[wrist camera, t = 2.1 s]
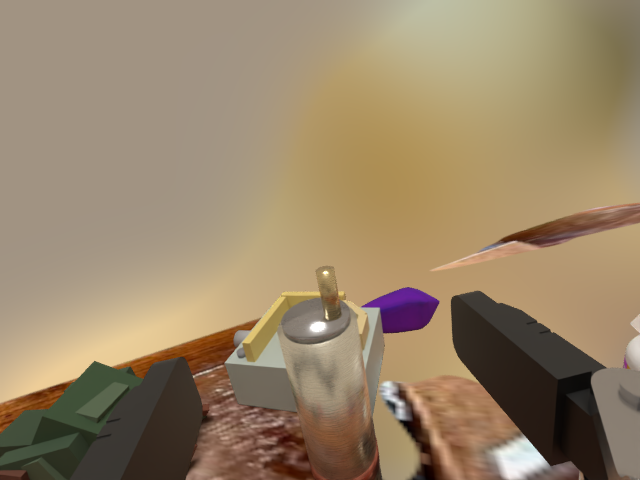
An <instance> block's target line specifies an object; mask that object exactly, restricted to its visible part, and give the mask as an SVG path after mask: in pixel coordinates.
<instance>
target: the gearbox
mask: <svg viewBox="0 0 640 480" xmlns="http://www.w3.org/2000/svg"><path fill="white" fill-rule="evenodd" d="M338 294H339V300H342V301H343V302H345V303H346V304H347V305H348V306H349V307H350V308H352V309H353V310H354V312H355V313H356V316H357V322H358V329H359V335H360V341H361V348H362V354H363V360H364V367H365V373H366V380H367V386H368V392H369V399H370V405H371V411H372V416H373V411H374V405H375V399H376V393H377V388H378V382H379V376H380V370H381V364H382V358H383V353H384V346H385V345H384V337H383V329H382V322H381V314H380V308H362V307H358V306H356V305H355V304H353V303H352V302H350V301H349V302H348V301H347V300H346V296H345V292H338ZM320 297H321V296H320V292H283V293H282V294H281V297H279V298H278V299H277V301H276V302H275V303H274V304H273V305H272V306H271V307H270V308H269V310H268V311H267V312H266V313H265V314H264V316H263V317H262V318H261V319H260V321H259V322H258V323H257V324H256V325H255V327H254V328H253V329H252V330H251V331H242V330H239V331H237V332H236V334H235V336H234V345H235V347H236V348H237V349H236V350H235V351H234V352H233V353H232V355H231V356H230V357H229V358H228V360H227V361H226V362H225V365H226V368H227V372H228V375H229V378H230V381H231V384H232V387H233V390H234V393H235V396H236V399H237V402H238V404H242V405H249V406H256V407H263V408H271V409H278V410H285V411H292V412H297V409H296V405H295V401H294V397H293V393H292V389H291V385H290V381H289V377H288V373H287V369H286V365H285V361H284V357H283V353H282V349H281V345H280V342H279V338H278V334H277V329H278V326H279V324H280V322H281V320H282V317H283V315H284V314H285V313H286V311H288V310H289V309H290V308H291V307H293V306H294V305H296V304H298V303H300V302H303V301H305V300H309V299H313V298H320Z"/></svg>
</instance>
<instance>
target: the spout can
mask: <svg viewBox="0 0 640 480" xmlns="http://www.w3.org/2000/svg"><path fill="white" fill-rule="evenodd" d="M316 276H317V280H318V286H319V291H320V296H321V297H320V298H313V299H309V300H305V301H303V302H300V303H298V304H296V305H294V306H293V307H291V308H290V309H289V310H288V311H286V313H285V314H284V315H283V317H282V320H281V322H280V324H279V326H278V329H277V334H278V338H279V342H280V345H281V349H282V353H283V357H284V361H285V365H286V369H287V373H288V377H289V381H290V385H291V389H292V393H293V397H294V401H295V405H296V409H297V413H298V417H299V421H300V424H301V428H302V432H303V436H304V440H305V444H306V448H307V452H308V459H309V463H310V467H311V470H312V474H313V477H314V480H382V475H381V469H380V463H379V452H378V446H377V440H376V436H375V431H374V424H373V418H372V411H371V405H370V399H369V392H368V386H367V380H366V373H365V367H364V360H363V354H362V348H361V341H360V335H359V329H358V322H357V316H356V313H355V312H354V310H353V309H352V308H350V307H349V306H348V305H347V304H346V303H345V302H343V301H342V300H339V294H338V289H337V283H336V277H335V271H334V268H333V267H332V266H323V267H320V268H318V269H317V270H316Z"/></svg>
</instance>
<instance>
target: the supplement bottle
mask: <svg viewBox="0 0 640 480" xmlns="http://www.w3.org/2000/svg"><path fill="white" fill-rule="evenodd" d="M623 368H625V369H631V370H636V371H640V335H638V336H637V337H635V338H633V339H632V340H631V341H630V342H629V344H628V346H627V348H626V352H625V358H624V365H623Z"/></svg>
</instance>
